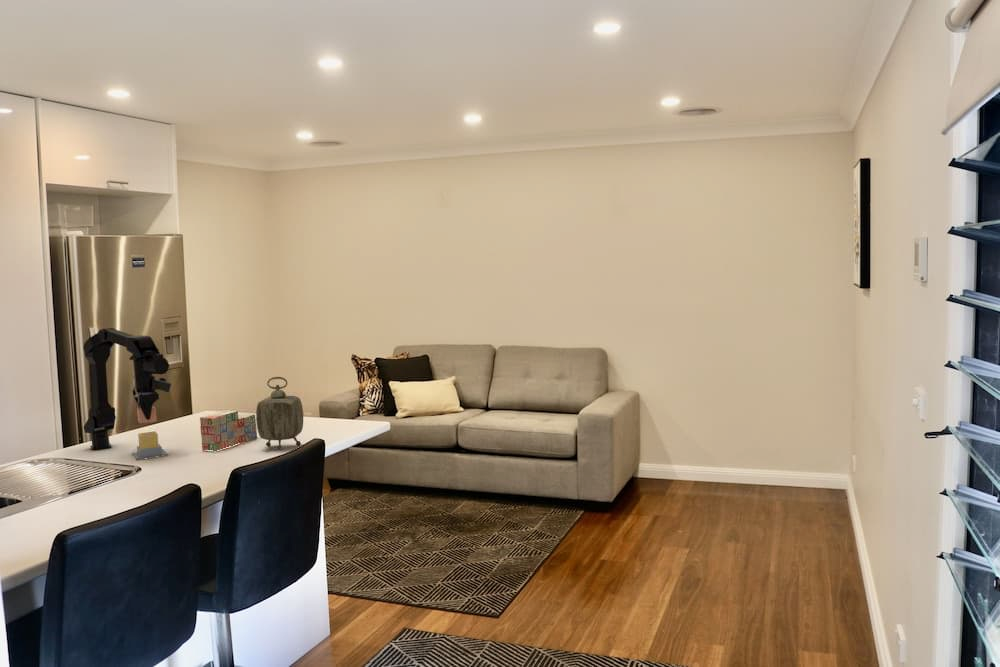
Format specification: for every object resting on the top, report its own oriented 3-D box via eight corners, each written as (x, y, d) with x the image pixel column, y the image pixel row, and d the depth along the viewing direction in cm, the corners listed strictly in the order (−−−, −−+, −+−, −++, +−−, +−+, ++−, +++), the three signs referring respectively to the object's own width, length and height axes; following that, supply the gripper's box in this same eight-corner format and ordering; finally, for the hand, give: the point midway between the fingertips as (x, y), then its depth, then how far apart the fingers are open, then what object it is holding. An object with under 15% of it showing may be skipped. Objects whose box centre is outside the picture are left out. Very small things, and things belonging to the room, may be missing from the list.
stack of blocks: (244, 438, 312) (241, 405, 310) (257, 439, 309) (255, 406, 308) (202, 451, 292) (199, 416, 291) (215, 452, 290) (213, 417, 288)
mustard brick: (139, 446, 290) (138, 433, 289) (156, 444, 292) (155, 431, 292) (141, 449, 285) (140, 436, 284) (158, 446, 288) (157, 434, 287)
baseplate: (132, 454, 291) (131, 446, 290) (162, 450, 296) (162, 441, 295) (136, 460, 282) (135, 451, 282) (167, 455, 287) (166, 447, 287)
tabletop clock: (305, 444, 296) (300, 374, 294) (298, 450, 287) (294, 378, 285) (264, 445, 296) (259, 375, 294) (256, 451, 287) (251, 379, 285)
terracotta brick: (138, 420, 289) (136, 408, 289) (155, 418, 292) (154, 406, 291) (139, 423, 284) (138, 410, 284) (156, 421, 287) (155, 408, 286)
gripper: (173, 373, 282) (176, 419, 284) (163, 367, 298) (167, 411, 300) (137, 377, 277) (141, 423, 278) (129, 371, 293) (133, 415, 294)
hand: (147, 418), depth 288 cm, fingers closed on terracotta brick, 6 cm apart
